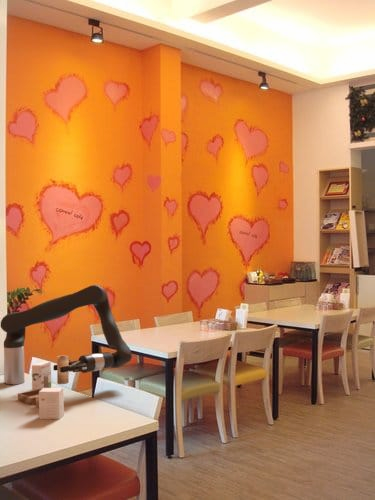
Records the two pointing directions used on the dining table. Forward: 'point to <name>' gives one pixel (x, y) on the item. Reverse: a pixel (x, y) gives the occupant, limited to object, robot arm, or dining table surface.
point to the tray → (29, 396)
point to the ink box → (41, 375)
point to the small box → (51, 403)
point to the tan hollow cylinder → (63, 377)
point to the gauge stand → (44, 387)
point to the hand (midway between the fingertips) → (57, 368)
